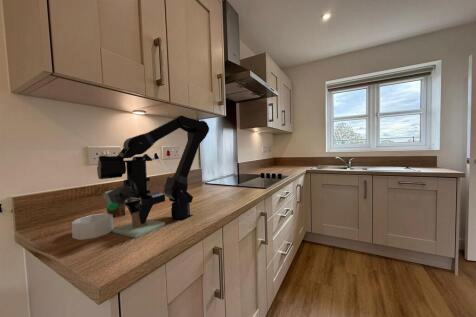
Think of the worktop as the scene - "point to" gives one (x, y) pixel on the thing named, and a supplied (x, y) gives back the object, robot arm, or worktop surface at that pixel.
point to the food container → (113, 206)
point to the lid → (138, 226)
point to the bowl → (92, 226)
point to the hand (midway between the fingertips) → (139, 223)
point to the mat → (138, 236)
